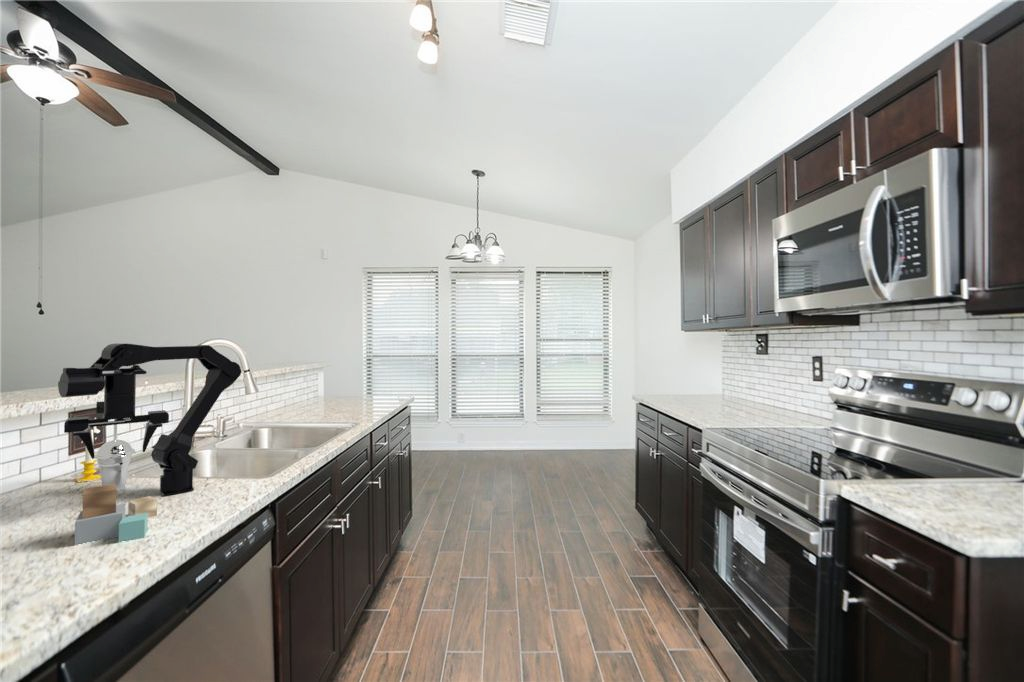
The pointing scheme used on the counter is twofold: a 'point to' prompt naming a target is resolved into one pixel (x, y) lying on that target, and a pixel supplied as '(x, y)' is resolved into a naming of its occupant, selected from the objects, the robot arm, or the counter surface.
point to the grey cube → (98, 526)
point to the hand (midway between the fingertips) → (119, 454)
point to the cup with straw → (114, 461)
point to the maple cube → (143, 506)
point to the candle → (88, 467)
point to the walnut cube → (99, 501)
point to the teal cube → (133, 527)
